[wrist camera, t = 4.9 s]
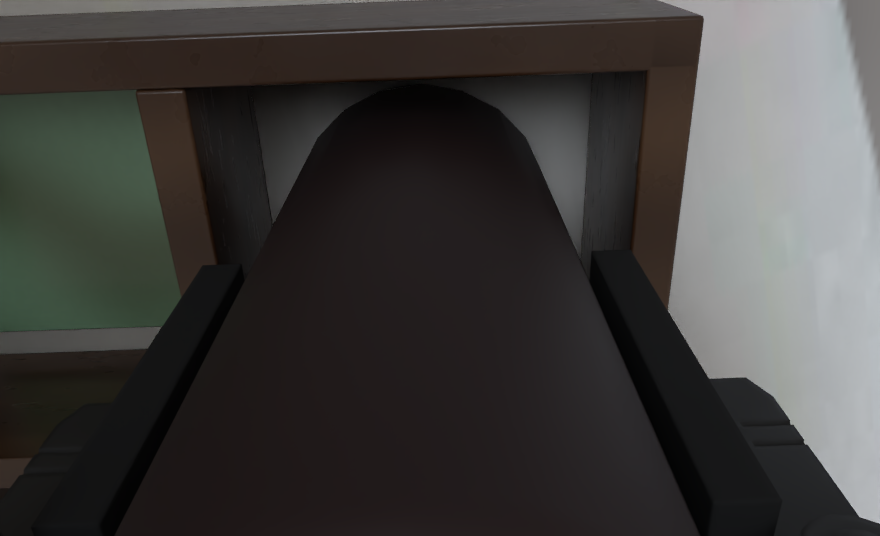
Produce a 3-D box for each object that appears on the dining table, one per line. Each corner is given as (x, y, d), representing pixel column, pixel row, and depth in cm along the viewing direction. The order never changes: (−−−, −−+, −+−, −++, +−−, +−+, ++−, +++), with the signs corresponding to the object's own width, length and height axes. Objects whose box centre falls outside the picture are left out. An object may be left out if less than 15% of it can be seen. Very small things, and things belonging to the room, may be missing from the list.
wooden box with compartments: (-194, 23, 18) (-404, 57, 13) (636, -8, 18) (705, 15, 13) (42, 596, 27) (-35, 729, 23) (587, 578, 27) (618, 709, 22)
